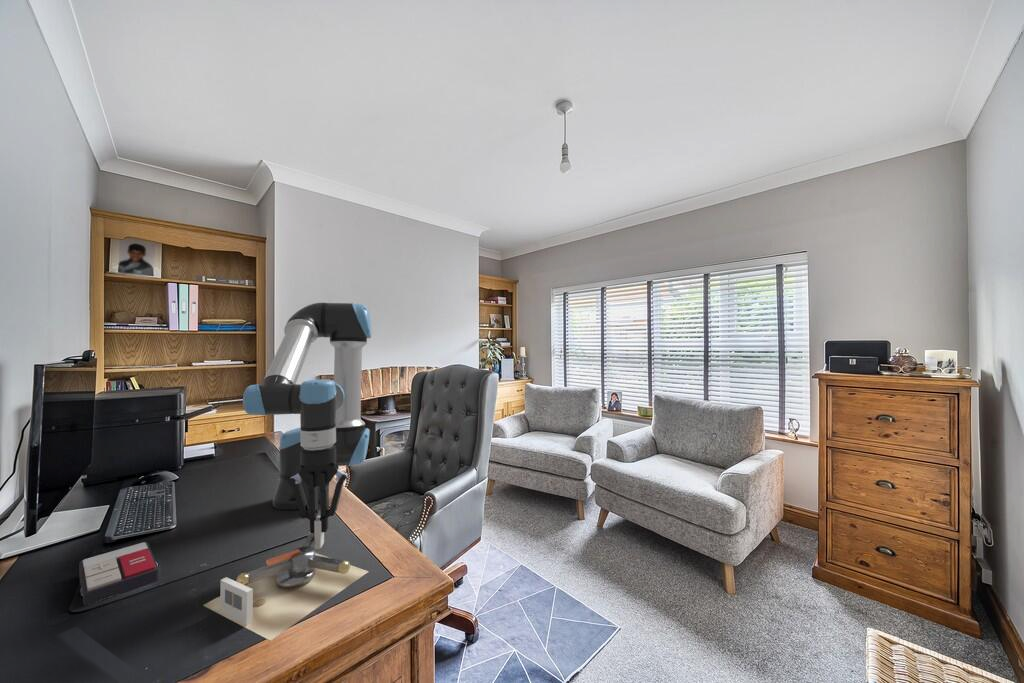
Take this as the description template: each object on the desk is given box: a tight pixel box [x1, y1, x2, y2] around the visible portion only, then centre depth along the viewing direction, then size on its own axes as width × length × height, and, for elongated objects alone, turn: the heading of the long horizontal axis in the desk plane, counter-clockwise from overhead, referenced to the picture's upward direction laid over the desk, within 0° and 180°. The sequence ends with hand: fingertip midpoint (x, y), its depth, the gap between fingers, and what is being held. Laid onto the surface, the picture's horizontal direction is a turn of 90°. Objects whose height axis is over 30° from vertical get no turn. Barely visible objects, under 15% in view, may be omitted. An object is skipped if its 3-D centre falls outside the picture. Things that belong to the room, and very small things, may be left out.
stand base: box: [203, 552, 370, 642], centre depth 80 cm, size 22×20×2 cm
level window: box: [219, 576, 253, 626], centre depth 71 cm, size 1×8×6 cm, turn 65°
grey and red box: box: [78, 541, 160, 606], centre depth 85 cm, size 11×4×15 cm
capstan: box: [235, 531, 351, 588], centre depth 86 cm, size 18×21×6 cm
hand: (319, 545), depth 92 cm, fingers closed
